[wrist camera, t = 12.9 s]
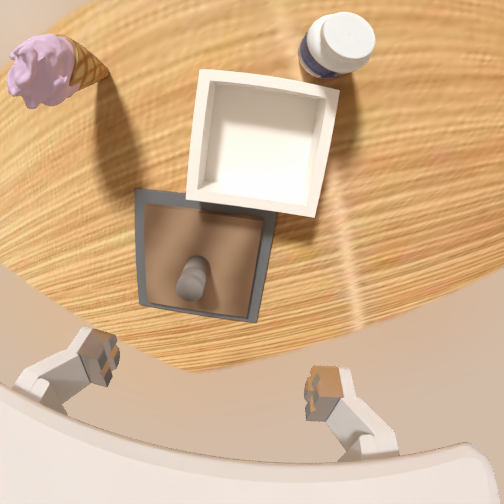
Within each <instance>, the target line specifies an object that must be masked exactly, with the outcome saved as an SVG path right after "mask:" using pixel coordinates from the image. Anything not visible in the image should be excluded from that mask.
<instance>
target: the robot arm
mask: <svg viewBox="0 0 504 504" xmlns="http://www.w3.org/2000/svg"><path fill="white" fill-rule="evenodd" d="M116 342H117V338H116V335H114V334H111V333H107V332H104V331H101V330H97V329H93V328H90V327H87V326H84V327H82V328H81V329H80V331H79V332H78V334H77V335H76V337H75V338H74V340H73V341H72V343H71V344H70V346H69V347H68V349H67V350H62V351H60V352H58V353H56V354H54V355H52V356H50V357H48V358H46V359H44V360H42V361H40V362H38V363H36V364H34V365H32V366H30V367H28V368H26V369H24V370H23V372H22V373H21V375H20V376H19V378H18V379H17V381H16V383H15V384H14V386H13V387H12V389H11V388H9V387H7V386H6V385H4V384H2V383H1V382H0V504H500V499H499V492H498V487H497V483H496V478H495V475H494V471H493V467H492V464H491V462H490V460H489V459H488V457H487V456H486V455H484V454H483V453H482V452H481V451H480V450H478V449H477V448H476V447H475V446H473V445H472V444H470V443H468V442H463V443H458V444H455V445H451V446H447V447H443V448H438V449H434V450H430V451H425V452H420V453H414V454H409V455H403V456H400V454H399V450H398V445H397V441H396V437H395V433H394V431H393V430H392V429H391V428H390V427H389V426H388V425H387V424H386V423H385V422H384V421H383V420H382V419H381V418H380V417H379V416H378V415H377V414H376V413H375V412H373V411H372V410H371V408H370V407H368V405H366V404H365V402H363V400H362V399H360V398H357V397H356V393H355V388H354V384H353V380H352V375H351V371H350V369H349V367H333V366H313V367H312V369H311V372H310V373H311V376H310V377H309V378H307V381H306V384H305V389H304V390H305V391H304V397H305V400H306V401H307V402H308V404H307V405H306V407H305V410H306V420H307V421H324V422H326V424H327V425H328V427H329V428H330V429H331V431H332V432H333V433H334V435H335V436H336V438H337V439H338V440H339V442H340V443H341V444H342V446H343V447H344V448H345V450H346V451H347V452H346V453H345V454H344V455H343V456H342V457H341V458H340V459H339V460H338V461H337V463H336V462H335V463H277V462H261V461H250V460H240V459H230V458H223V457H216V456H209V455H203V454H197V453H191V452H187V451H181V450H177V449H172V448H168V447H163V446H159V445H155V444H151V443H147V442H143V441H140V440H136V439H132V438H129V437H126V436H122V435H119V434H116V433H113V432H110V431H107V430H104V429H101V428H98V427H95V426H92V425H90V424H87V423H84V422H82V421H79V420H77V419H74V418H71V417H69V416H68V415H67V412H66V410H65V409H64V407H63V406H62V404H63V403H64V402H66V401H67V400H68V399H70V398H71V397H72V396H74V395H75V394H77V393H78V392H79V391H81V390H82V389H83V388H85V387H86V386H88V385H89V384H90V383H94V384H97V385H100V386H104V387H108V385H109V383H110V380H111V379H112V372H111V371H113V370H114V369H116V368H117V366H118V364H119V358H120V351H119V348H118V347H117V346H116Z"/></svg>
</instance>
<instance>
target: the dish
mask: <svg viewBox="0 0 504 504" xmlns="http://www.w3.org/2000/svg"><path fill="white" fill-rule="evenodd" d="M339 94H340V90H336V89H332V88H328V87H324V86H320V85H315V84H310V83H305V82H300V81H295V80H290V79H284V78H278V77H272V76H265V75H258V74H250V73H242V72H232V71H221V70H207V69H200V72H199V79H198V86H197V93H196V100H195V108H194V116H193V125H192V134H191V143H190V154H189V164H188V176H187V188H186V200H195V201H203V202H211V203H218V204H226V205H233V206H241V207H248V208H255V209H262V210H268V211H275V212H282V213H288V214H294V215H301V216H307V217H313V218H315V214H316V209H317V205H318V200H319V196H320V191H321V187H322V182H323V177H324V173H325V168H326V163H327V158H328V153H329V148H330V143H331V138H332V133H333V127H334V122H335V116H336V111H337V105H338V99H339Z"/></svg>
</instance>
